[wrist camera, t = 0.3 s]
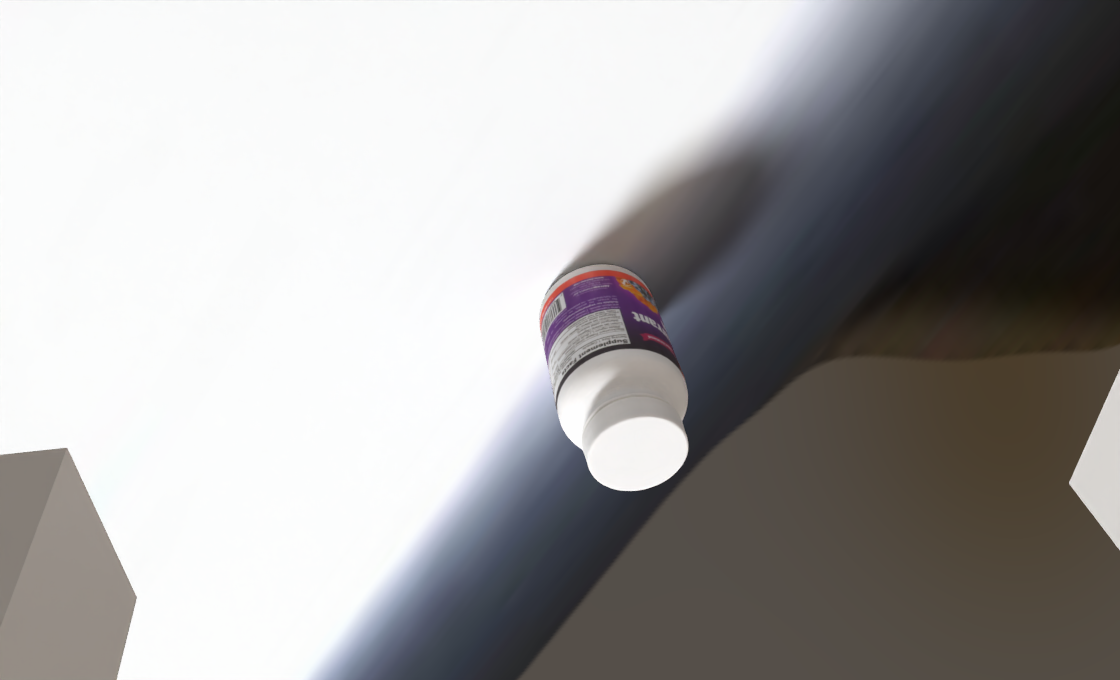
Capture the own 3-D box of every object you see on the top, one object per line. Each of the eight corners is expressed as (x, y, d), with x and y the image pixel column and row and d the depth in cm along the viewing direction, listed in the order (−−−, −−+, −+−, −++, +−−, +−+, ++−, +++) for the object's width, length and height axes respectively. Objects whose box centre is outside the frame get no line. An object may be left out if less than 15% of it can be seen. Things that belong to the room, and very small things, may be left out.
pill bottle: (668, 325, 46) (724, 471, 38) (566, 371, 47) (601, 522, 39) (626, 240, 43) (679, 381, 35) (518, 291, 43) (545, 439, 36)
